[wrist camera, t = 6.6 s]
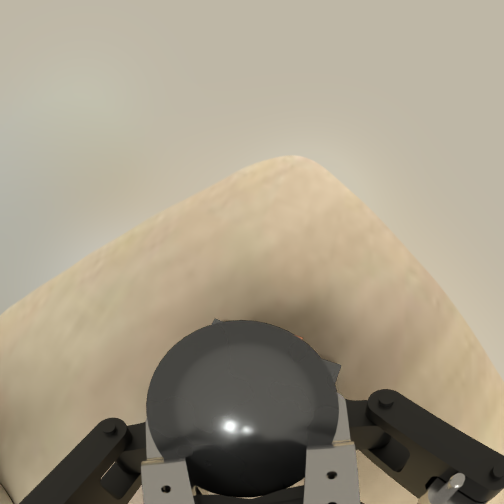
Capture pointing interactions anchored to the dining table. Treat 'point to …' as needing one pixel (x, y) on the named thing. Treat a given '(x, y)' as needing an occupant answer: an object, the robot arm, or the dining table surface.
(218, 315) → the dining table surface
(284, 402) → the column
